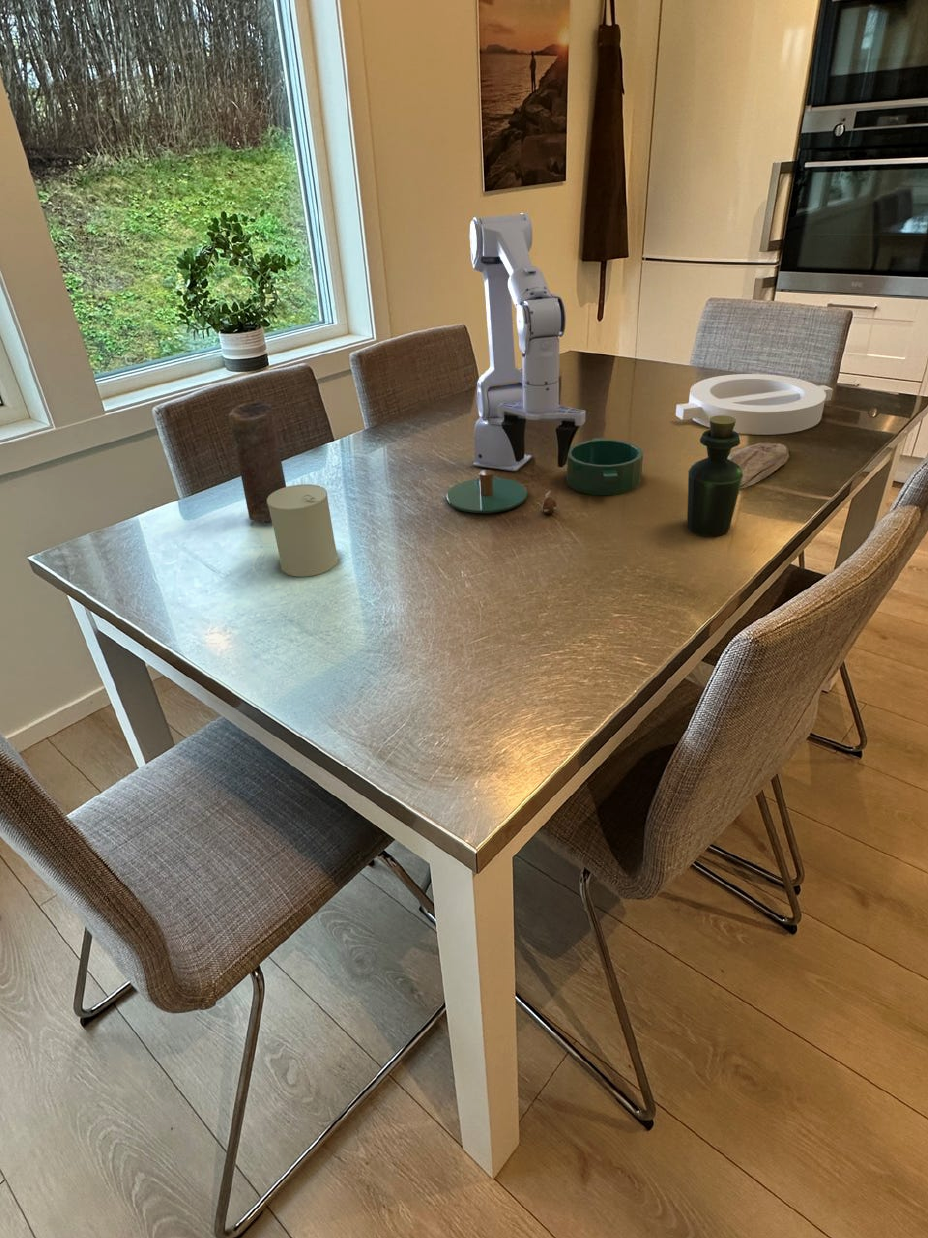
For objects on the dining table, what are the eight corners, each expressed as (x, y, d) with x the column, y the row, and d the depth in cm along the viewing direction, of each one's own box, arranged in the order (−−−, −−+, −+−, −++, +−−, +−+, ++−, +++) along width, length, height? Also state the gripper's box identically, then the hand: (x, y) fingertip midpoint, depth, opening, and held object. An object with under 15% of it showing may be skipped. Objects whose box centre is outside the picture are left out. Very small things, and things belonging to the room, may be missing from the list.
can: (312, 582, 113) (298, 510, 107) (268, 569, 117) (252, 499, 111) (350, 556, 120) (339, 486, 113) (307, 544, 124) (294, 477, 117)
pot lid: (444, 517, 129) (442, 490, 127) (449, 484, 142) (447, 458, 139) (528, 514, 129) (528, 487, 126) (526, 481, 141) (525, 455, 138)
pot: (570, 502, 132) (571, 473, 129) (563, 462, 147) (563, 436, 144) (648, 500, 131) (650, 470, 128) (632, 460, 147) (634, 433, 144)
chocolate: (550, 518, 127) (550, 496, 125) (539, 515, 128) (539, 494, 126) (559, 511, 129) (559, 490, 127) (548, 509, 130) (548, 488, 128)
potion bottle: (671, 523, 122) (683, 416, 113) (711, 513, 125) (726, 407, 115) (703, 544, 116) (718, 432, 106) (745, 532, 119) (763, 422, 109)
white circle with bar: (832, 401, 168) (837, 380, 166) (806, 442, 149) (810, 418, 147) (709, 389, 182) (711, 369, 179) (670, 424, 162) (672, 402, 160)
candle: (300, 511, 135) (279, 402, 124) (279, 529, 129) (255, 416, 119) (264, 507, 137) (240, 400, 127) (242, 524, 132) (215, 413, 121)
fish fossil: (748, 499, 129) (749, 492, 128) (692, 491, 134) (692, 485, 134) (795, 448, 145) (795, 443, 145) (742, 444, 151) (743, 438, 150)
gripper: (488, 383, 117) (491, 465, 124) (575, 391, 111) (573, 476, 118) (507, 371, 122) (509, 451, 129) (591, 378, 116) (588, 461, 123)
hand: (540, 462), depth 124 cm, fingers open, 7 cm apart
